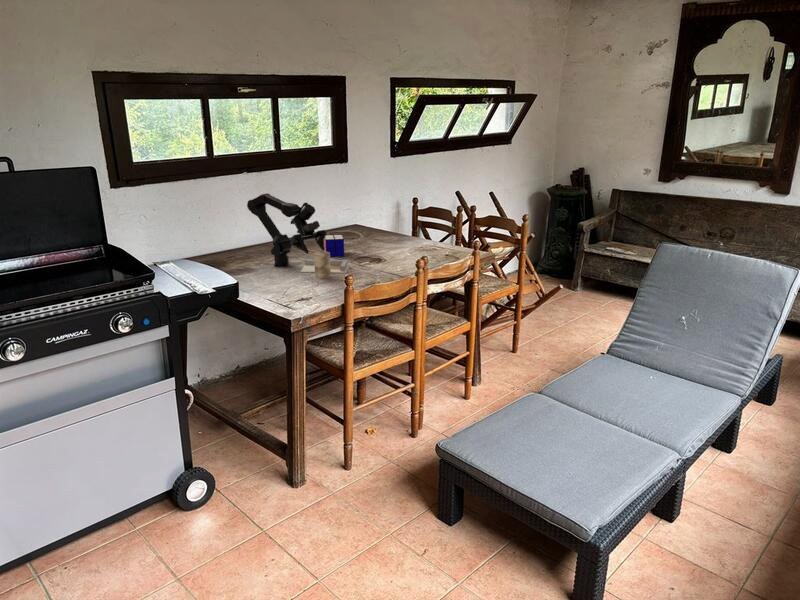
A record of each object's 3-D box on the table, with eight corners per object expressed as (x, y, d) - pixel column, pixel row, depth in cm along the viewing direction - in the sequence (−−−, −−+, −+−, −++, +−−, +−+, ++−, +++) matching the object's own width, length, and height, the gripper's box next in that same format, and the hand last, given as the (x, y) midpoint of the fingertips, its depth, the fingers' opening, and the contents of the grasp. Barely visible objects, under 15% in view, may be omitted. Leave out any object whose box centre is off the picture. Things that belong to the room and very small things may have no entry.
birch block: (320, 279, 289) (319, 254, 286) (315, 277, 292) (314, 252, 289) (330, 276, 293) (329, 252, 289) (325, 274, 296) (324, 251, 293)
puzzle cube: (326, 257, 329) (325, 239, 326) (324, 253, 338) (324, 235, 335) (344, 256, 331) (344, 238, 328) (342, 252, 340) (342, 234, 337)
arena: (300, 272, 300) (300, 266, 299) (305, 265, 313) (305, 259, 312) (346, 273, 299) (346, 267, 298) (349, 265, 312) (349, 260, 311)
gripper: (291, 218, 285) (306, 245, 281) (324, 213, 297) (338, 239, 293) (283, 232, 293) (297, 258, 289) (315, 227, 305) (329, 252, 301)
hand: (316, 251), depth 293 cm, fingers open, 9 cm apart
